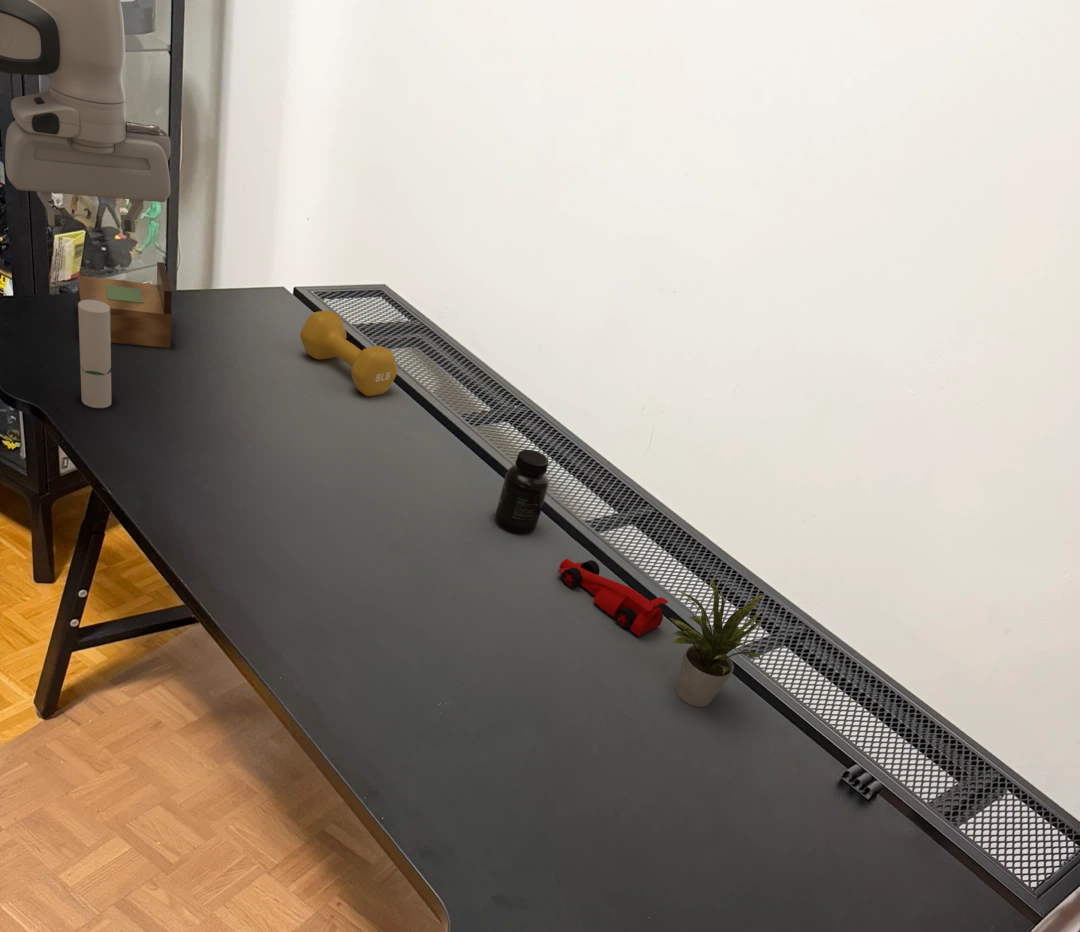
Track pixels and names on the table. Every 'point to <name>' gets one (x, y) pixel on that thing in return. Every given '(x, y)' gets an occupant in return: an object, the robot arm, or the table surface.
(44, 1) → the robot arm
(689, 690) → the house plant
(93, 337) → the tube
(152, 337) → the wooden stand base
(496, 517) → the supplement bottle
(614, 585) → the toy car
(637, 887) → the table surface
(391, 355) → the dumbbell
